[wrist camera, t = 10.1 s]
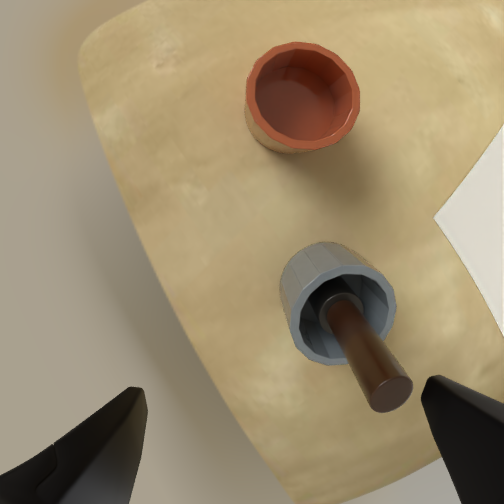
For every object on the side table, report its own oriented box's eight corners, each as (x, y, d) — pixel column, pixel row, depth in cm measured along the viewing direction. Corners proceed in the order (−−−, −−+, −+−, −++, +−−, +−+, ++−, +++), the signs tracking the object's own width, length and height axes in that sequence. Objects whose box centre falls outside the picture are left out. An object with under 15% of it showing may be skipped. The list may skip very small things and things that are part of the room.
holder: (243, 151, 19) (244, 146, 13) (246, 70, 17) (248, 38, 12) (327, 156, 19) (359, 154, 14) (329, 77, 18) (359, 50, 12)
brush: (303, 306, 21) (352, 424, 10) (307, 268, 20) (368, 371, 10) (340, 305, 21) (411, 415, 10) (345, 269, 20) (430, 363, 10)
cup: (276, 325, 22) (285, 367, 17) (282, 240, 20) (295, 264, 15) (358, 323, 22) (383, 361, 17) (370, 243, 20) (404, 265, 16)
